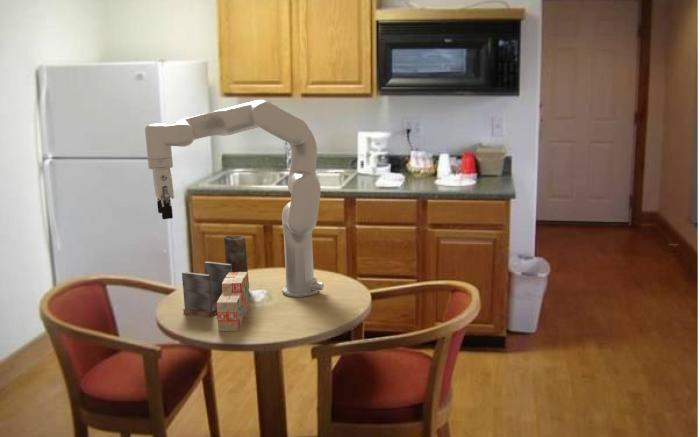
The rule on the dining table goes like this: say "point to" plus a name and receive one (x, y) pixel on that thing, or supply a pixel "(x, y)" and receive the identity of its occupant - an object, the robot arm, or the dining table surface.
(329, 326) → the dining table surface
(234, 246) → the dark upright piece
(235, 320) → the stack of blocks
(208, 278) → the shelf
